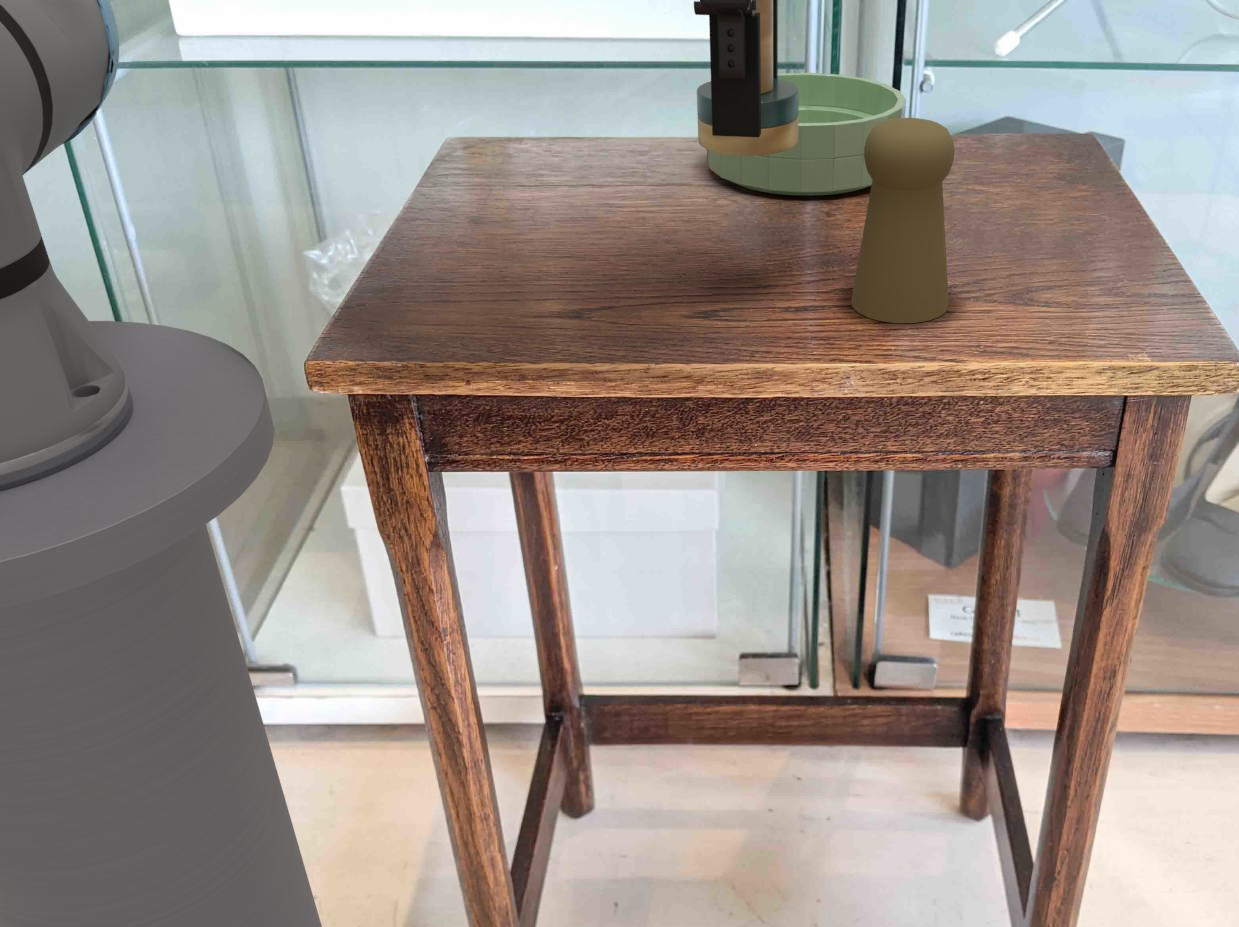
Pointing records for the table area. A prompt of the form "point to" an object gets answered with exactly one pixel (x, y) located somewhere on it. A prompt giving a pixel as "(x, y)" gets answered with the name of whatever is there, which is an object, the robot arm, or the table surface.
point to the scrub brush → (775, 105)
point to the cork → (904, 223)
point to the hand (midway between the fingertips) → (746, 118)
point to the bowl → (819, 138)
